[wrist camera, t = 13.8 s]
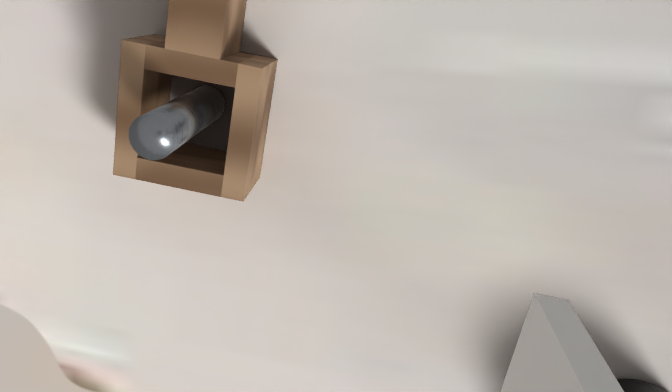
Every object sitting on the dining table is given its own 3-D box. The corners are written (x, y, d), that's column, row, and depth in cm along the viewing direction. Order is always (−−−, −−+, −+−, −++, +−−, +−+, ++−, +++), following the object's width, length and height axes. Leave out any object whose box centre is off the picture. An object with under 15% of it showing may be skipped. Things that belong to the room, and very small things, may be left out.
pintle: (203, 78, 39) (145, 104, 29) (232, 102, 39) (183, 135, 30) (182, 105, 39) (119, 139, 30) (210, 128, 40) (157, 169, 30)
